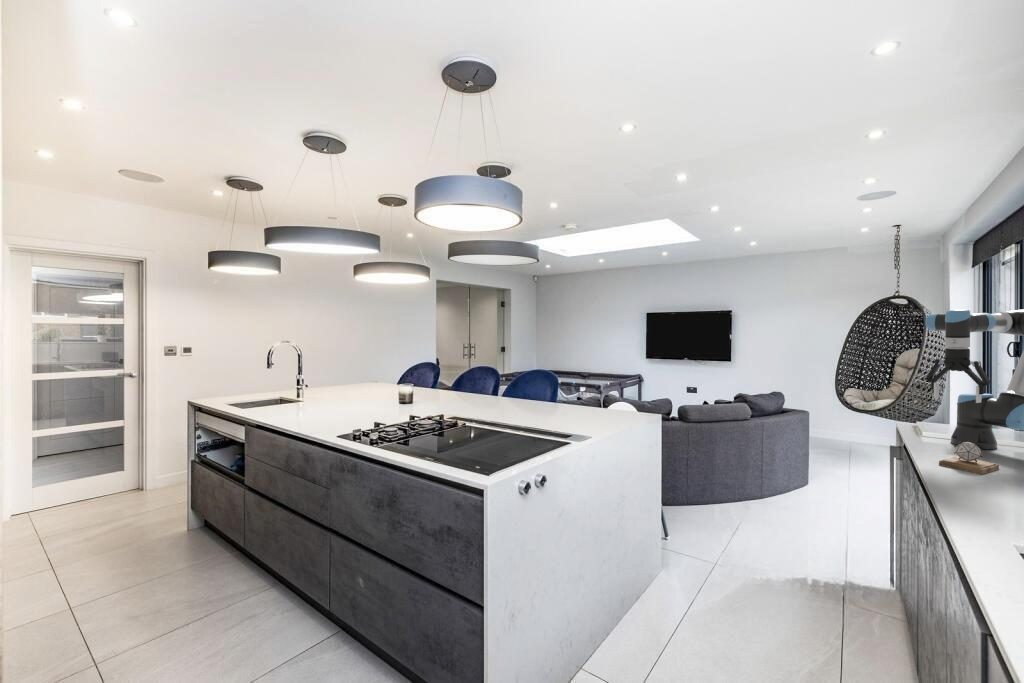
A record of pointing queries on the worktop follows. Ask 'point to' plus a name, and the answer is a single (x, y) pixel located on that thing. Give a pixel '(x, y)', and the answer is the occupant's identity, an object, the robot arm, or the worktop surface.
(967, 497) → the worktop surface
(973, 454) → the game die
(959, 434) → the robot arm
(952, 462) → the plate
